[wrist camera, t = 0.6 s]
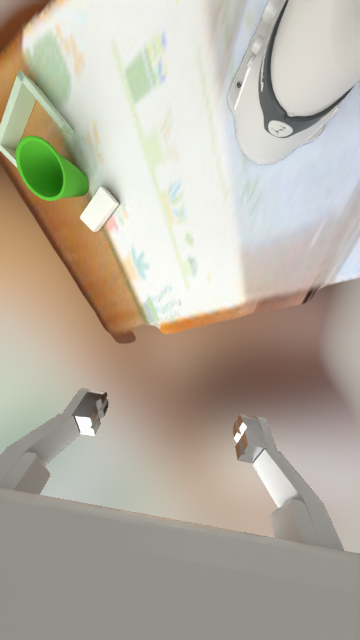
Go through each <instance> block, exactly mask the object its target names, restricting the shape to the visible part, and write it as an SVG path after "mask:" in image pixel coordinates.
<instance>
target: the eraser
mask: <svg viewBox="0 0 360 640" xmlns="http://www.w3.org/2000/svg"><path fill="white" fill-rule="evenodd" d="M119 205H120V203H119V202H118V201H117V199H116V198H115V197H114V196H113V195H112V194H111V192H110V191H109V190H108V189H107V188H104V187H101V186H100V188H99V189H98V191H97V192H96V194H95V195H94V197H93V198H92V200H91V201H90V203H89V204H88V206H87V207H86V209H85V210H84V212H83V213H82V215H81V216H80V219H81V220H82V221H83V222H84V223H85V224H86V225H87V226H88V227H89V228H90V229H91V230H92V231H93V232H96V231H100V230H101V229H102V228H103V226H104V225H105V224H106V222H107V221H108V220H109V218H110V217H111V216H112V214H113V213H114V212H115V210H116V209H117V208H118V206H119Z"/></svg>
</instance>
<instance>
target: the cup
mask: <svg viewBox="0 0 360 640" xmlns="http://www.w3.org/2000/svg"><path fill="white" fill-rule="evenodd" d="M16 163H17V167H18V171H19V173H20V175H21V177H22V179H23V181H24V183H25V184H26V185H27V187H28V188H29V189H30V190H31V191H32V192H33V193H34V194H35V195H37V196H38V197H40V198H42V199H44V200H47V201H54V200H58V199H59V198H66V197H77V196H83V195H85V194H86V192H87V191H88V181H87V178H86V176H85V175H84V173H83V172H82V171H81V170H80V169H78V168H77V167H76V166H75V165H73V164H72V163H71V162H69V161H68V160H67V159H65V158H64V157H63V156H62V155H60V154H59V153H58V152H56V151H55V149H54V148H53V147H52V146H51V145H50V144H49V143H48V142H47V141H45V140H44V139H42V138H40V137H37V136H27V137H24V138H23V139H22V140H21V141H19V143H18V145H17V148H16Z"/></svg>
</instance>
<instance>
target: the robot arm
mask: <svg viewBox="0 0 360 640" xmlns="http://www.w3.org/2000/svg"><path fill="white" fill-rule="evenodd" d="M358 81H360V0H268V3H267V6H266V8H265V11H264V14H263V16H262V18H261V21H260V23H259V25H258V27H257V29H256V32H255V34H254V36H253V38H252V40H251V43H250V45H249V47H248V49H247V51H246V54H245V56H244V58H243V60H242V62H241V65H240V67H239V69H238V71H237V74H236V76H235V78H234V80H233V82H232V85H231V87H230V89H229V92H228V97H227V99H228V104H229V106H230V109H231V111H232V113H233V115H234V120H235V131H236V137H237V141H238V144H239V146H240V149H241V150H242V152H243V153H244V155H245V156H246V157H247V158H248V159H249V160H251V161H253V162H255V163H257V164H264V165H266V164H273V163H276V162H278V161H280V160H282V159H284V158H285V157H287V156H288V155H290V154H291V153H292V152H293V151H294V150H295V149H297V148H298V147H299V146H301V145H304V144H307V143H309V142H312V141H313V140H315V139H316V138H317V137H318V136H319V135H320V134H321V133H322V131H323V128H324V126H325V123H326V122H327V121H328V120H329V119H330V118H331V117H332V116H333V115H334V114H335V113H336V111H337V110H338V104H339V103H340V102H341V101H342V100H343V99H344V98H345V96H346V95H347V94H348V93H349V92H350V91H351V89H352V88H353V87H354V85H355V84H356V83H357V82H358ZM238 83H240V84H241V87H240V88H238V87H237V84H238ZM106 397H107V392H102V391H96V390H91V389H85V388H81V389H80V390H79V391H78V392H77V394H76V395H75V396H74V398H73V399H72V401H71V402H70V403H69V405H68V406H67V408H66V409H65V410H64V412H63V413H62V414H58V415H57V416H55V417H54V418H52V419H50V420H49V421H47V422H46V423H44V424H43V425H41V426H39V427H38V428H36V429H35V430H33V431H32V432H30V433H29V434H27V435H26V436H24V437H22V438H21V439H19V440H18V441H16V442H15V443H13V444H11V445H10V446H8V447H7V448H6V449H5V450H4V452H3V453H2V454H1V455H0V640H360V554H359V553H354V552H348V551H344V549H343V546H342V544H341V542H340V539H339V537H338V535H337V533H336V530H335V528H334V526H333V524H332V521H331V519H330V517H329V514H328V512H327V510H326V508H325V505H324V503H323V502H322V501H321V500H320V499H319V497H318V496H317V495H316V494H315V493H314V491H313V490H312V489H311V488H310V487H309V485H308V484H307V483H306V482H305V481H304V479H303V478H302V477H301V476H300V475H299V474H298V472H297V471H296V470H295V469H294V467H293V466H292V465H291V464H290V463H289V462H288V460H287V459H286V458H285V457H284V455H283V454H282V453H281V452H280V451H277V448H276V445H275V442H274V439H273V437H272V434H271V431H270V428H269V425H268V422H267V420H266V419H265V418H260V417H255V416H249V415H242V414H239V415H238V417H237V419H238V420H237V421H235V422H234V425H233V435H234V439H235V440H236V442H237V445H236V447H235V448H236V453H237V460H238V461H243V462H249V463H253V466H254V468H255V469H256V471H257V473H258V475H259V476H260V478H261V480H262V481H263V483H264V485H265V486H266V488H267V489H268V491H269V493H270V495H271V496H272V498H273V500H274V501H275V503H276V505H277V506H278V509H277V510H275V511H274V512H272V513H271V515H270V518H271V523H272V527H273V531H274V536H275V538H272V537H267V536H261V535H255V534H250V533H245V532H239V531H233V530H228V529H223V528H218V527H212V526H206V525H201V524H196V523H190V522H185V521H180V520H174V519H169V518H162V517H157V516H152V515H147V514H141V513H136V512H131V511H125V510H120V509H114V508H109V507H103V506H98V505H92V504H87V503H81V502H76V501H71V500H65V499H59V498H54V497H48V496H43V495H40V493H41V491H42V489H43V488H44V486H45V484H46V482H47V481H48V479H49V477H50V473H49V471H48V470H47V469H46V467H45V466H46V465H47V463H49V462H50V461H51V460H52V459H53V458H55V457H56V456H57V455H58V454H59V453H60V452H61V451H62V450H63V449H65V448H66V447H67V446H68V445H69V444H70V443H71V442H72V441H74V440H75V439H76V438H77V437H78V436H79V435H80V434H87V435H95V434H96V432H97V430H98V428H99V426H100V424H101V423H100V419H101V418H102V417H104V416H105V414H106V411H107V408H108V399H107V398H106Z"/></svg>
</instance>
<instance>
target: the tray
mask: <svg viewBox="0 0 360 640" xmlns="http://www.w3.org/2000/svg"><path fill="white" fill-rule="evenodd" d="M36 99H37V100H38V102H39V103H40V104H41V105H42V106H43V108H44V109H45V110H46V111H47V112H48V114H49V115H50V116H51V117H52V118H53V120H54V121H55V122H56V123H57V124H58V126H59V127H60V128H61V129H62V130H64V131H65V132H67V133H68V134H70V135H71V136H72V137H73V135H74V134H75V131H74V130H73V129H72V128H71V126H70V125H69V124H68V123H67V121H66V120H65V119H64V118H63V117H62V115H61V114H60V113H59V112H58V110H57V109H56V108H55V107H54V105H53V104H52V103H51V102H50V101H49V99H48V98H47V97H46V96H45V94H44V93H43V92H42V91H41V89H40V88H39V87H38V86H37V85H36V83H34V82H33V81H32V80H31V79H30V78H29V77H27V76H26V75H25V74H24V73H23V72H21V71H20V70H19V71H18V74H17V77H16V80H15V83H14V86H13V89H12V92H11V95H10V98H9V101H8V104H7V107H6V110H5V113H4V116H3V119H2V121H1V124H0V151H1V152H2V153H3V154H4V155H5V156H6V157H7V158H8V159H9V160H10V161H11V162H12V163H13V164H14V165H15V166H16V167H17V163H16V148H17V145H18V143H19V141H20V139H21V137H22V134H23V132H24V129H25V127H26V124H27V122H28V119H29V117H30V114H31V112H32V109H33V107H34V104H35V102H36ZM17 168H18V167H17Z"/></svg>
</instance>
